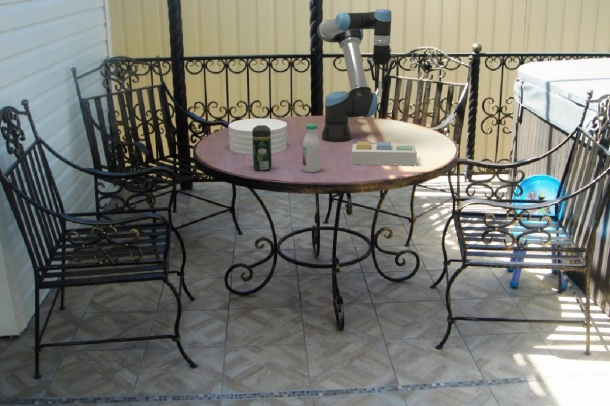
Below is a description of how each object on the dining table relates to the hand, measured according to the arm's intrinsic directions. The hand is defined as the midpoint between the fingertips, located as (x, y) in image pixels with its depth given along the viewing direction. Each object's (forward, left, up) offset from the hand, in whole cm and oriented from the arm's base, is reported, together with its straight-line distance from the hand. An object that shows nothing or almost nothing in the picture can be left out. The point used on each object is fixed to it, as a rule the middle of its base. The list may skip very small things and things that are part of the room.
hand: (379, 95), depth 312 cm
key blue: (+2, -24, -21) cm, 32 cm away
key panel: (+2, -24, -25) cm, 35 cm away
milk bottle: (-29, -41, -25) cm, 56 cm away
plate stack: (-58, -3, -26) cm, 63 cm away
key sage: (+11, -24, -23) cm, 35 cm away
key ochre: (-7, -24, -21) cm, 33 cm away
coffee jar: (-50, -40, -25) cm, 69 cm away
